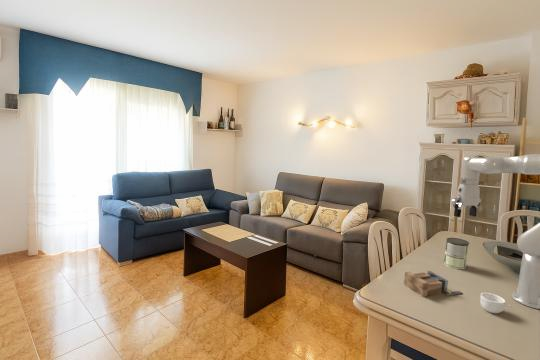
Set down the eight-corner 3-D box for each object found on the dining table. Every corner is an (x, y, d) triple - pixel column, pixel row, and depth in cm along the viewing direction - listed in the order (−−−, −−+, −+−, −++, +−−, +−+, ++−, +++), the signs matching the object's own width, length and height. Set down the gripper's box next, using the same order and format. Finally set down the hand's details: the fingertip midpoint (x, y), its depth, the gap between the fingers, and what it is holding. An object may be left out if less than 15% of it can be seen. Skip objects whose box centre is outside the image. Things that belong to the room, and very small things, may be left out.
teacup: (478, 310, 116) (480, 298, 115) (479, 302, 122) (481, 290, 121) (510, 320, 109) (512, 307, 109) (510, 311, 115) (512, 299, 115)
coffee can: (440, 260, 164) (443, 236, 163) (459, 262, 163) (462, 238, 162) (449, 268, 154) (452, 243, 152) (470, 270, 153) (473, 244, 151)
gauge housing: (462, 293, 128) (464, 281, 127) (425, 299, 123) (427, 285, 122) (438, 280, 141) (440, 268, 140) (404, 284, 135) (405, 272, 134)
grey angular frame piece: (451, 293, 127) (452, 283, 126) (432, 296, 124) (433, 285, 123) (429, 280, 138) (430, 270, 138) (411, 282, 136) (412, 272, 135)
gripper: (462, 183, 136) (457, 218, 138) (490, 183, 141) (485, 217, 143) (448, 181, 143) (444, 214, 145) (475, 180, 148) (471, 213, 150)
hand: (464, 216), depth 144 cm, fingers open, 9 cm apart
